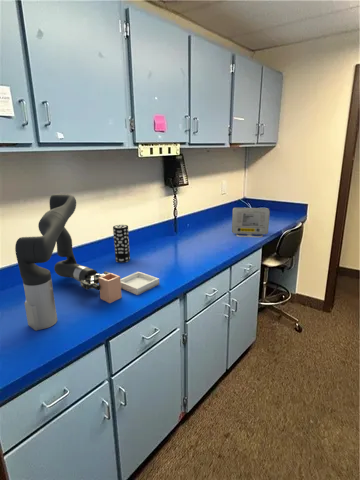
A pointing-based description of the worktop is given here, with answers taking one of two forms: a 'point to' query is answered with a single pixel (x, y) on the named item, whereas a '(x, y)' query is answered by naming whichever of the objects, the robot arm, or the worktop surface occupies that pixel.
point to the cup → (110, 287)
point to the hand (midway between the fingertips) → (107, 284)
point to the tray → (138, 282)
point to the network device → (250, 221)
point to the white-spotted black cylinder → (121, 243)
